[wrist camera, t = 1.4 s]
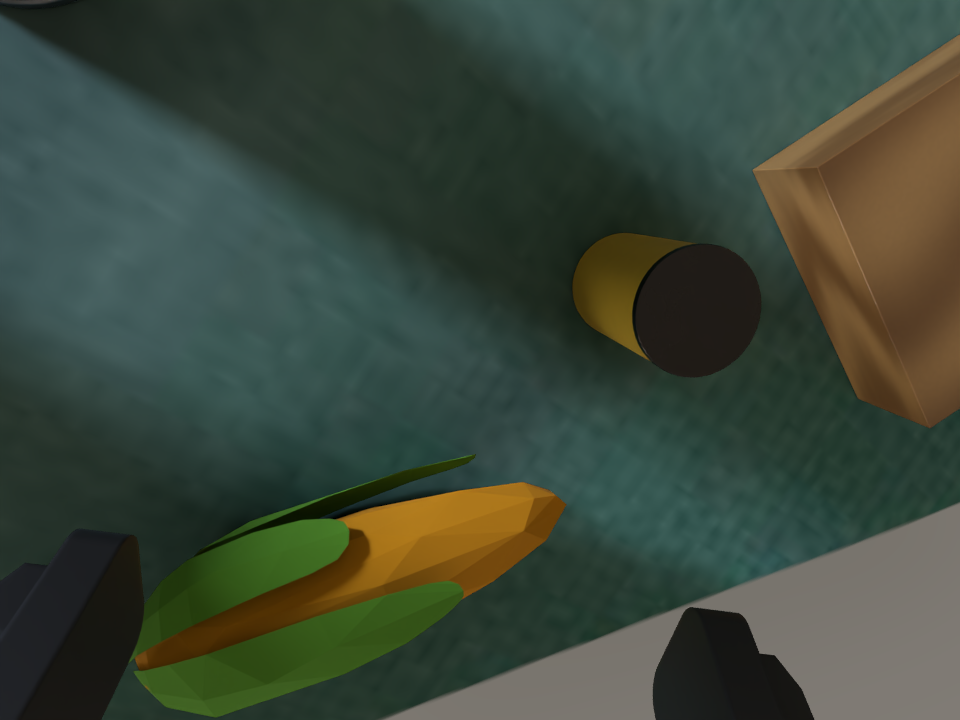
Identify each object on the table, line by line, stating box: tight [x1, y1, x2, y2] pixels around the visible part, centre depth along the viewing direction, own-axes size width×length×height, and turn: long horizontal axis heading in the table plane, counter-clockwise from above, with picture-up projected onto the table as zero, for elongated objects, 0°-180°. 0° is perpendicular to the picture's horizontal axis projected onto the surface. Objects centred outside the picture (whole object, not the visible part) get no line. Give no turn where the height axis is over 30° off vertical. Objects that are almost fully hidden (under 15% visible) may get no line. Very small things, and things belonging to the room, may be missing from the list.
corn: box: [129, 454, 566, 717], centre depth 32 cm, size 7×8×20 cm
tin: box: [572, 233, 761, 377], centre depth 31 cm, size 5×5×8 cm
